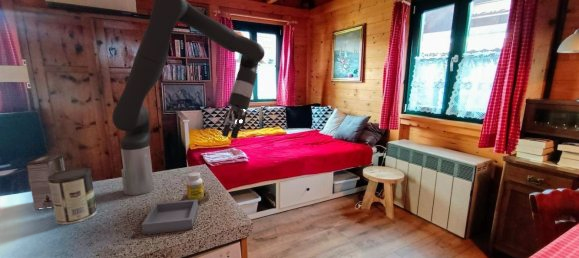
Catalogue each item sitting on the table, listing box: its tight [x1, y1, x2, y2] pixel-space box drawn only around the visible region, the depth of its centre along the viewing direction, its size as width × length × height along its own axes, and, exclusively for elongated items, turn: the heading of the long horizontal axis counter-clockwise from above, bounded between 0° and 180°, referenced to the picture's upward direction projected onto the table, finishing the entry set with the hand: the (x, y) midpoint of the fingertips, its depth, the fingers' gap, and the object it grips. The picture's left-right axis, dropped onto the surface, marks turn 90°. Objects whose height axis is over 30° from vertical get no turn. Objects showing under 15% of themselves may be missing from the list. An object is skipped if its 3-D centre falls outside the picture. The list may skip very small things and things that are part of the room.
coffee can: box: [48, 167, 98, 225], centre depth 82 cm, size 10×10×14 cm
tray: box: [141, 199, 199, 236], centre depth 80 cm, size 13×13×3 cm
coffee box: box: [25, 154, 67, 210], centre depth 91 cm, size 9×6×16 cm
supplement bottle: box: [186, 171, 205, 200], centre depth 93 cm, size 5×5×10 cm
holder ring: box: [181, 190, 210, 206], centre depth 94 cm, size 9×9×2 cm
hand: (228, 137), depth 97 cm, fingers open, 8 cm apart
